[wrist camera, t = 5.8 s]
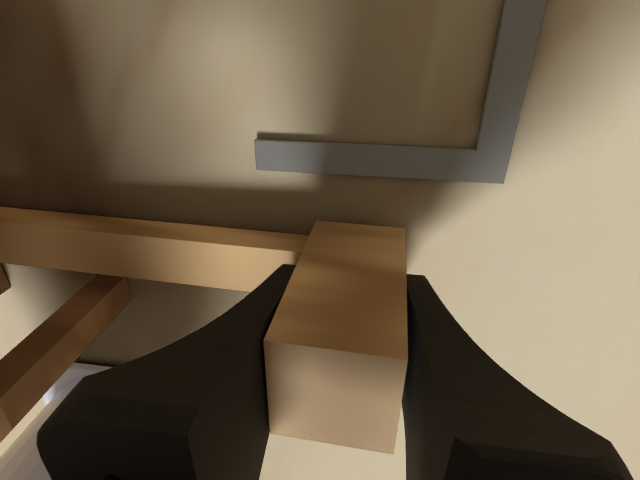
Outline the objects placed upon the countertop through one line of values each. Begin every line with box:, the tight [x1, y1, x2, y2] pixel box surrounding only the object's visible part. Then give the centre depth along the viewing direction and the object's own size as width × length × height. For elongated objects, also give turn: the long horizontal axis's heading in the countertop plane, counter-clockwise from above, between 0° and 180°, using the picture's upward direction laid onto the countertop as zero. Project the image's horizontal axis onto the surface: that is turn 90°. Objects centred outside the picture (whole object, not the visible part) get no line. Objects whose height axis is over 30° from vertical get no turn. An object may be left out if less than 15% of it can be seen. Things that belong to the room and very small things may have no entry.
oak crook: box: [0, 207, 408, 454], centre depth 12 cm, size 20×9×6 cm, turn 90°
